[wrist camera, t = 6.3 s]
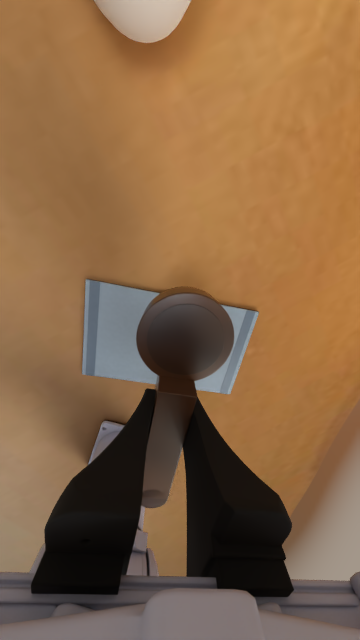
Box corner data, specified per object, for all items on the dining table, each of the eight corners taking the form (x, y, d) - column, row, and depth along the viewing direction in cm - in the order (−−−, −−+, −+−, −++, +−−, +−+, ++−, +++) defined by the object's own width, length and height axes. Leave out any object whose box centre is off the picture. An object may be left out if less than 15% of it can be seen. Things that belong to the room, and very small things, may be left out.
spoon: (184, 461, 17) (187, 511, 13) (121, 455, 16) (109, 505, 13) (235, 295, 12) (259, 311, 9) (148, 278, 11) (139, 287, 8)
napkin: (229, 392, 24) (230, 394, 23) (83, 372, 22) (81, 374, 21) (257, 311, 20) (259, 312, 20) (87, 278, 18) (85, 279, 18)
